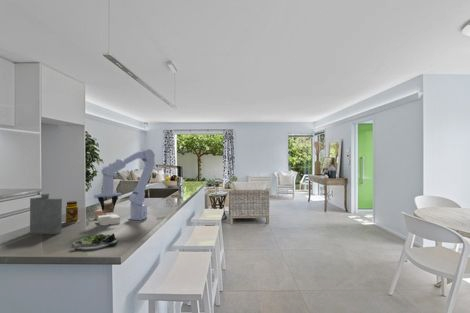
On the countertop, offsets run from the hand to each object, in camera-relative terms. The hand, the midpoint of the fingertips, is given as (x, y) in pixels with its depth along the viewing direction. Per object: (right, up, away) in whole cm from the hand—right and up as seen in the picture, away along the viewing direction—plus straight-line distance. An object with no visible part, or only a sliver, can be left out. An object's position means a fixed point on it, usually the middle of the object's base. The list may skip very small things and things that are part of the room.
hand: (107, 209), depth 166 cm
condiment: (-22, -8, +1) cm, 24 cm away
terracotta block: (-10, -8, +12) cm, 17 cm away
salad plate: (+12, -9, -37) cm, 40 cm away
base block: (0, -8, 0) cm, 8 cm away
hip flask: (-22, -8, -22) cm, 32 cm away
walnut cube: (0, -1, 0) cm, 1 cm away
